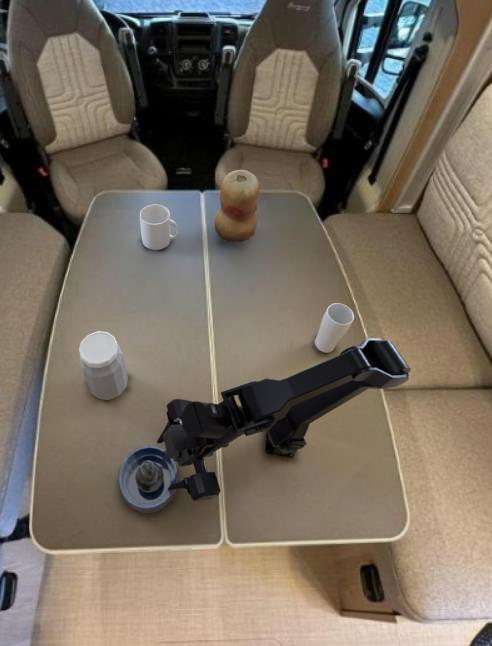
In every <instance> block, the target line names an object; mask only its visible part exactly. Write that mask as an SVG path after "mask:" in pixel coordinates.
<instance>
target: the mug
mask: <svg viewBox="0 0 492 646" xmlns="http://www.w3.org/2000/svg"><path fill="white" fill-rule="evenodd" d="M139 225H140V235H141V241H142V242H141V243H142V244H143V246H144V247H146V248H147V249H149V250H151V251H152V250H154V251H159V250H163V249H165V248H167V247H168V246H169V245H170V243H171V240H174V239H176V238H177V237H178V236H179V229H180V228H179V226H178V224H177V223H176V222H175V221H174V220H173V219H171V212H170V209H169V208H168V207H166V206H165V205H162V204H157V203H154V204H153V203H152V204H148V205H146V206H144V207H143V208H141V210H140V211H139ZM172 225H173V226H174V227H175V231H176V232H175V234H174V235H172V234H171V226H172Z"/></svg>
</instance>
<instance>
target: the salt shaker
mask: <svg viewBox="0 0 492 646" xmlns="http://www.w3.org/2000/svg"><path fill="white" fill-rule="evenodd" d="M135 477H136V484H137V486H138V488H139V489H140V490H141V491H142V492H143V493H144V494H147V495H153V494H155V493H157V492H158V491H159V490H160V488H161V486H162V482H163V478H164V477H163V471H162V469H161V467H160V466H159V465H158V464H156V463H153V462H152V461H150V460H146V461H144V462H143V463H142V465H141V466H140V468H139V469H138V470H137V472H136V476H135Z"/></svg>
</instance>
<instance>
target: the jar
mask: <svg viewBox="0 0 492 646" xmlns="http://www.w3.org/2000/svg"><path fill="white" fill-rule="evenodd" d="M78 353H79V356H80V358H79V364H80V367H81V370H82V372H83V376H84V378H85V381H86V383H87V386H88V389H89V391H90V394H91V395H93V396H94V397H95V398H97V399H98V400H106V401H110V400H113V399H115V398H117V397H120V396H121V394H122V393H123V392H124V391H125V390H126V389H127V384H128V380H129V378H128V372H127V368H126V363H125V357H124V354H123V351H122V349H121V347H120V345H119V344H118V342H117V340H116V337H115V336H114V335H112V334H111V333H110V332H107V331H95V332H93V333H89V334H87V335H86V336H85V337H84V338H83V339H82V340H81V342H80V344H79V348H78Z"/></svg>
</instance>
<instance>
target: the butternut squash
mask: <svg viewBox="0 0 492 646" xmlns="http://www.w3.org/2000/svg"><path fill="white" fill-rule="evenodd" d="M259 193H260V184H259V181H258V178H257V176H256V175H255V174H253V173H252V172H250V171H248V170H245V169H237V170H236V169H235V170H233V171H230V172H229V173H228V174H226V175H225V176H224V178H223V179H222V182H221V187H220V194H219V202H220V207H219V209H218V210H217V212H216V214H215V215H214V220H213V222H214V223H213V224H214V229H215V231H216V232H215V233H216V234H217V235H218V236H219V237H220V239H222V240H223V241H225V242H230V243H243V242H245V241H249V240H250V239H251V238H252V237H254V236H255V234H256V231H257V230H256V229H257V226H258V219H257V213H256V212H257V210H258V204H257V203H258V196H259Z"/></svg>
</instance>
